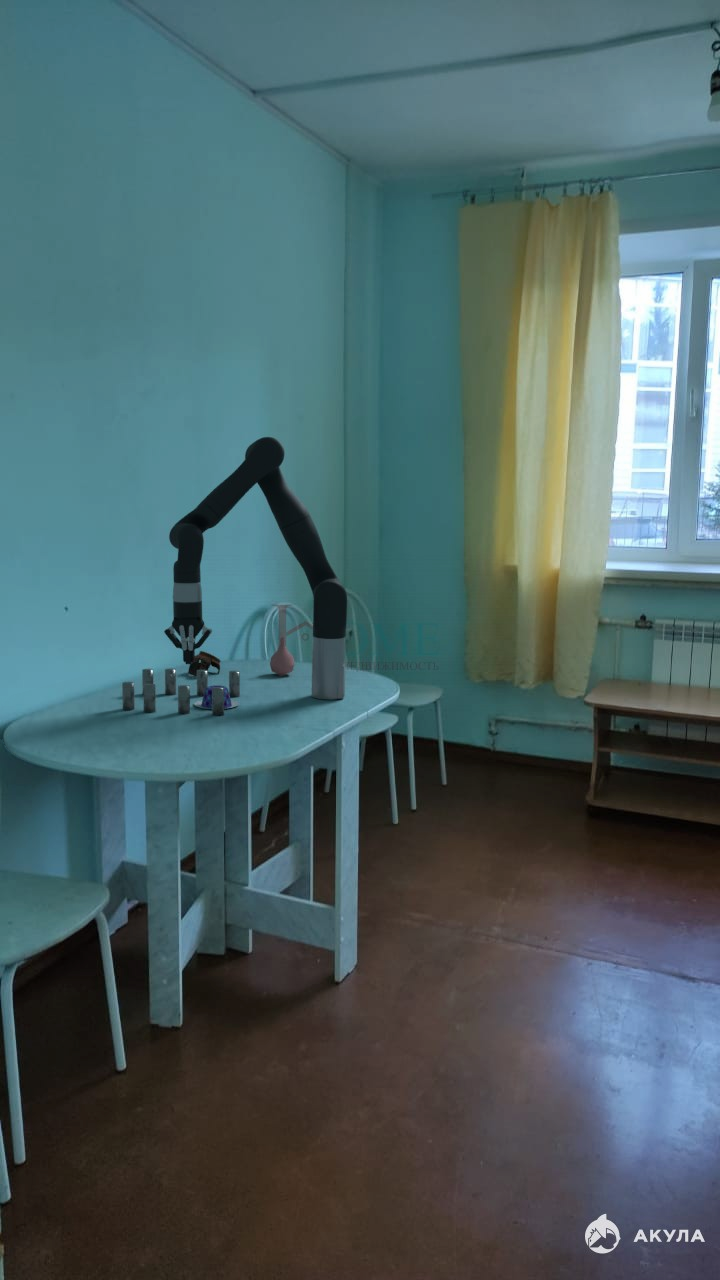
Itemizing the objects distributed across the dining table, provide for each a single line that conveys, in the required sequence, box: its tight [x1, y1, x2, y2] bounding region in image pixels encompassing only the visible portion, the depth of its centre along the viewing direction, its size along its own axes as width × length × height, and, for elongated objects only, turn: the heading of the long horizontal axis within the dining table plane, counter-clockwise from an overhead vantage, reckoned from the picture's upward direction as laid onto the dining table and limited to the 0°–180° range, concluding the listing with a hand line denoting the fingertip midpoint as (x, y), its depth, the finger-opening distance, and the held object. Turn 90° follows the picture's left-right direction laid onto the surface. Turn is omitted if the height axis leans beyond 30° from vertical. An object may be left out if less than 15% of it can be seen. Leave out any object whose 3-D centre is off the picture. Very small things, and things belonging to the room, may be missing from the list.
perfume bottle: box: [269, 636, 295, 677], centre depth 290 cm, size 8×8×12 cm
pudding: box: [193, 685, 240, 710], centre depth 248 cm, size 12×12×5 cm
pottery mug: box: [187, 650, 221, 677], centre depth 288 cm, size 12×10×8 cm
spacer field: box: [121, 668, 241, 717], centre depth 249 cm, size 27×25×7 cm
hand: (189, 663), depth 247 cm, fingers closed
